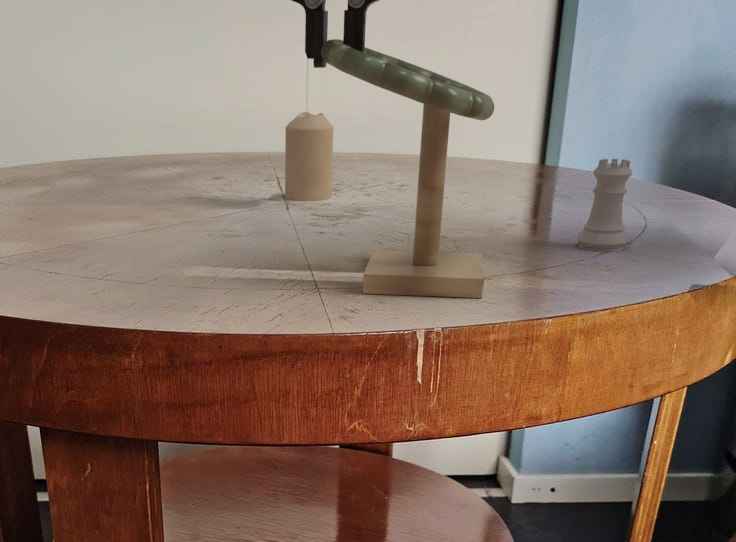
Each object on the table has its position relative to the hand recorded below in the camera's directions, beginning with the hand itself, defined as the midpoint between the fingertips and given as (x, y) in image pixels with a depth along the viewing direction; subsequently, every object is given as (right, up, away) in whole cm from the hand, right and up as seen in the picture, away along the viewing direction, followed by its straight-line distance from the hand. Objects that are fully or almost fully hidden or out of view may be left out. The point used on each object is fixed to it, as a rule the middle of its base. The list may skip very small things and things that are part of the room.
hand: (334, 66), depth 67 cm
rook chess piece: (+25, -10, +14) cm, 30 cm away
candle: (0, +3, +41) cm, 41 cm away
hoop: (+5, -1, -1) cm, 6 cm away
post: (+8, -15, +6) cm, 17 cm away
